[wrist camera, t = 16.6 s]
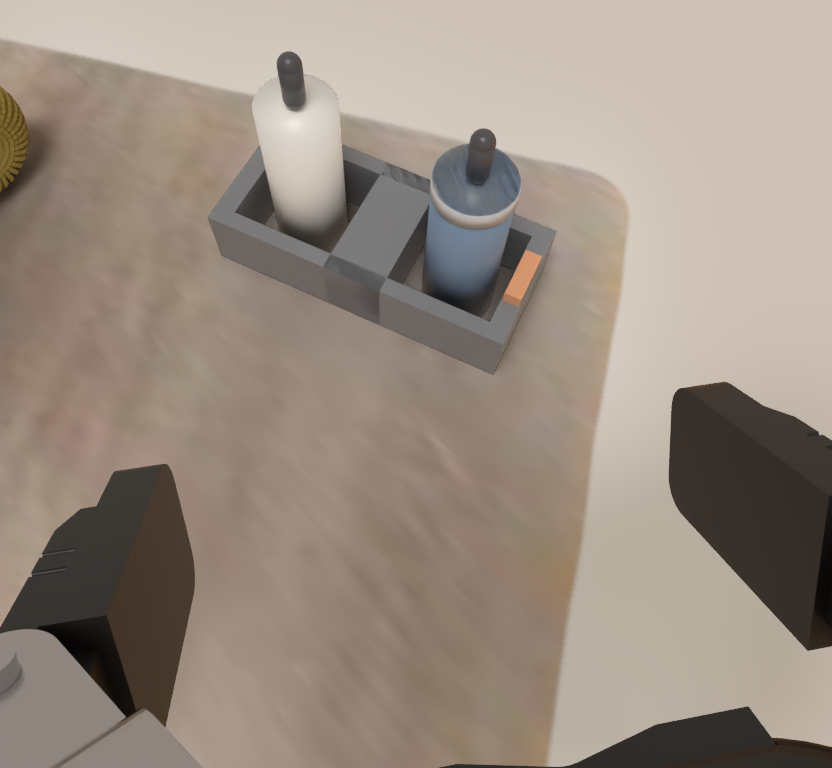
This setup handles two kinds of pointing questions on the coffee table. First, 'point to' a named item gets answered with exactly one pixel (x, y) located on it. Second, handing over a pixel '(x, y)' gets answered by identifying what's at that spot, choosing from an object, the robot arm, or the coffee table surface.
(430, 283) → the canister
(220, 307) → the coffee table surface
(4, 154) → the sculpture
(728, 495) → the robot arm
